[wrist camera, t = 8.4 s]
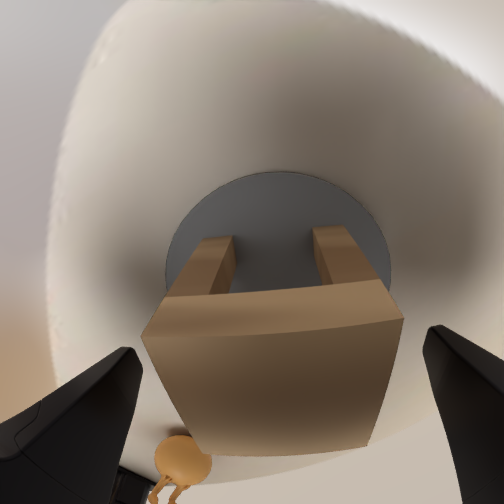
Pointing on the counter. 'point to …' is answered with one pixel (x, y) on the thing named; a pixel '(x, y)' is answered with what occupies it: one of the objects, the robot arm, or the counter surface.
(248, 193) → the charcoal mat
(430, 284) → the counter surface
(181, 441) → the figurine
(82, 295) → the counter surface
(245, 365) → the oak stool
